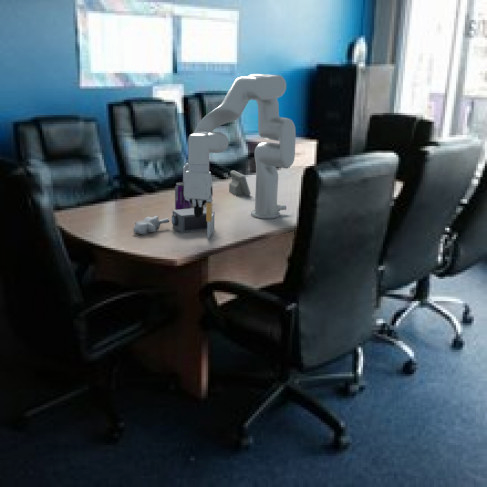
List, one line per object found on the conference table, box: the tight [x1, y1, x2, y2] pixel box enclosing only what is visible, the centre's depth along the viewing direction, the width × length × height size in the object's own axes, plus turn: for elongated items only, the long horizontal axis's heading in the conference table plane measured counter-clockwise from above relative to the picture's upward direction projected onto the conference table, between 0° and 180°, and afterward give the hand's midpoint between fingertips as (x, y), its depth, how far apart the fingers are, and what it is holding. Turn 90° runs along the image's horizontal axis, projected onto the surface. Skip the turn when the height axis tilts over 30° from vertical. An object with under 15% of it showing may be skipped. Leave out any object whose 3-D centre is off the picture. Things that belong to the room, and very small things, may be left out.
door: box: [205, 201, 215, 239], centre depth 219 cm, size 13×2×14 cm, turn 175°
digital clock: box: [228, 169, 251, 197], centre depth 289 cm, size 16×9×11 cm, turn 11°
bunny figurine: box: [133, 215, 170, 236], centre depth 224 cm, size 10×5×15 cm
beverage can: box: [174, 181, 192, 210], centre depth 253 cm, size 7×7×12 cm
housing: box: [171, 206, 215, 234], centre depth 227 cm, size 15×9×8 cm, turn 118°
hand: (198, 216), depth 216 cm, fingers closed
